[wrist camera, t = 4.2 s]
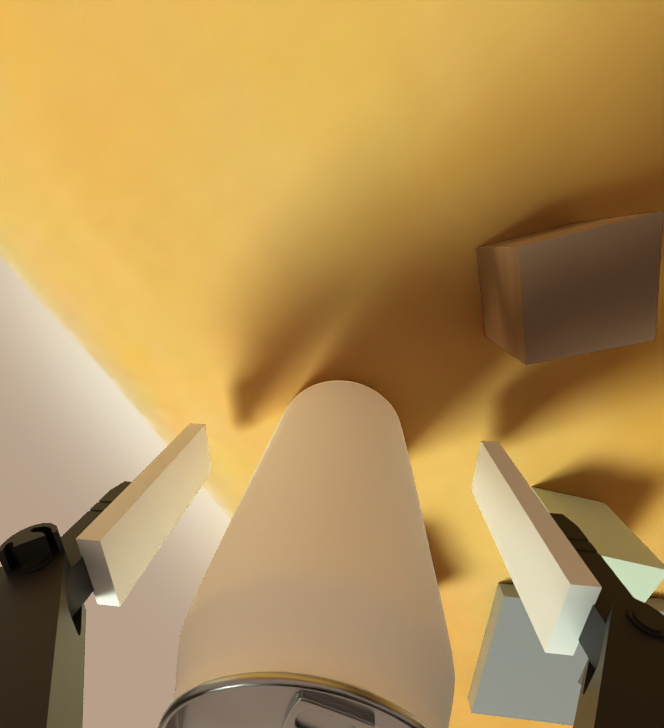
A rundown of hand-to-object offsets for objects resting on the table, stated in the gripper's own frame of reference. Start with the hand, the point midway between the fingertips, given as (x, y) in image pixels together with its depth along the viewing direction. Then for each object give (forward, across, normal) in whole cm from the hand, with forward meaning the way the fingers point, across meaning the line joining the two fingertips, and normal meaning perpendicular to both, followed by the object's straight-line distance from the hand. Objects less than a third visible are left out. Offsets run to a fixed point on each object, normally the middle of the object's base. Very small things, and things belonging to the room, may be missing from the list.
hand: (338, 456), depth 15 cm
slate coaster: (+2, +16, -16) cm, 23 cm away
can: (+2, 0, 0) cm, 2 cm away
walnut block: (+2, +8, +8) cm, 12 cm away
